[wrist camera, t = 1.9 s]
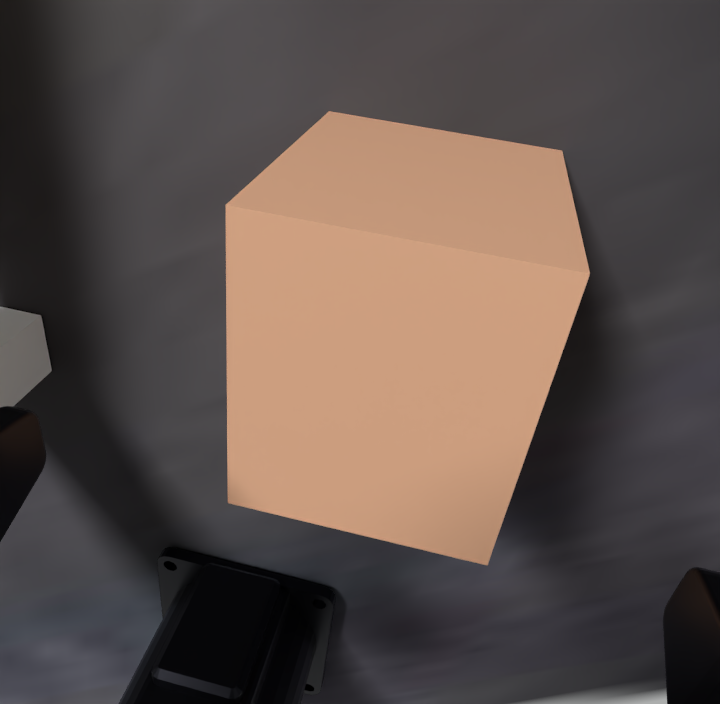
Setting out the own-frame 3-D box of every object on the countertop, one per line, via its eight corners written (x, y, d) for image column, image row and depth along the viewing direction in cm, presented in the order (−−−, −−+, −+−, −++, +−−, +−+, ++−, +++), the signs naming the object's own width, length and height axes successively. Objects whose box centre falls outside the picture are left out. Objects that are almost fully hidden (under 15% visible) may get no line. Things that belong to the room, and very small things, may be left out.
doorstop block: (495, 379, 17) (487, 565, 12) (310, 340, 17) (228, 503, 12) (562, 149, 13) (589, 273, 8) (330, 110, 14) (225, 205, 9)
